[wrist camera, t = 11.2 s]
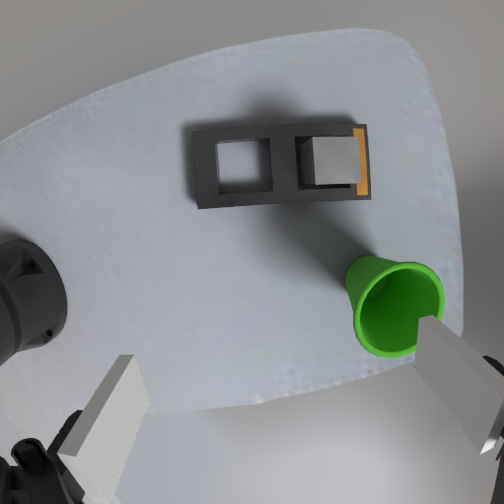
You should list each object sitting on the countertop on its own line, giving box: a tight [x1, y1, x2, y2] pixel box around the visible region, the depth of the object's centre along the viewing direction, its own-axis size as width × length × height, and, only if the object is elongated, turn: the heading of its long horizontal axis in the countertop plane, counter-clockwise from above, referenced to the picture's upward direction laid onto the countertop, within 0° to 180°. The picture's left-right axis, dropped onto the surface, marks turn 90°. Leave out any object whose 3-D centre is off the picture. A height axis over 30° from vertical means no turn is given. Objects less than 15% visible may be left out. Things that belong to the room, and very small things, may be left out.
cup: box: [345, 256, 445, 358], centre depth 31 cm, size 9×9×11 cm
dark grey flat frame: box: [192, 124, 371, 209], centre depth 33 cm, size 18×8×2 cm, turn 94°
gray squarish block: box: [300, 137, 361, 185], centre depth 30 cm, size 4×4×8 cm
